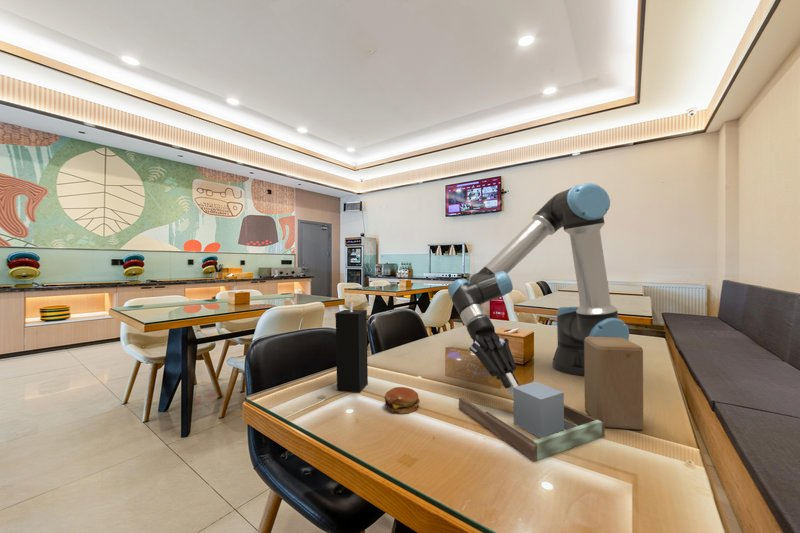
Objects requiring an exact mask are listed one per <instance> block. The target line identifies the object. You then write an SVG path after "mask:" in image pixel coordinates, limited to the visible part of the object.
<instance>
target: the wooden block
mask: <svg viewBox="0 0 800 533" xmlns="http://www.w3.org/2000/svg"><path fill="white" fill-rule="evenodd" d="M583 376H584V409H585V411H586V412H587V414H589V416H591V417H593V418H595V419H597V420H599V421H602V422H604V423H605V428H612V429H613V428H615V429H626V430H639V431H641V430H643V429H644V350H643V347H642V346H641V345H639V344H636V343H635V342H632V341H630V340H629V339H628V340H626V339H624V338H619V337H586V338H585V340H584V375H583Z"/></svg>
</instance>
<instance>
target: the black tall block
mask: <svg viewBox="0 0 800 533" xmlns="http://www.w3.org/2000/svg"><path fill="white" fill-rule="evenodd" d="M348 308H349V309H343V310H341V311H337V312H335V313H334V314H335V315H334V317H335V318H334V319H335V352H336V354H335V356H336V358H335V359H336V361H335V362H336V363H335V364H336V391H339V392H348V393H349V392H350V393H361V392H362V391H363V389H364V388H365V387H366V386H367V385H369V377H368V376H369V374H368V373H369V372H368V371H369V370H368V366H369V365H368V364H369V363H368V321H367V318H368V317H367V316H368V310H367V309H353V308H354V301H351V302H348Z"/></svg>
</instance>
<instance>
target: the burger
mask: <svg viewBox="0 0 800 533" xmlns="http://www.w3.org/2000/svg"><path fill="white" fill-rule="evenodd" d="M384 402H385V406H387V409H388V410H389V411H390V412H392V413H394V412H396V413H398V414H399V415H407V414H411V413H413V412H416V410H417V409H418V407H419V404H420V402H421V401H420V398H419V394H418V392H417V391H416V390H414V389H412V388H409V387H406V386H396V387H392V388H391V389H390V390H388V391H387V392H386V393H385V395H384Z"/></svg>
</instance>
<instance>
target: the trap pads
mask: <svg viewBox="0 0 800 533" xmlns="http://www.w3.org/2000/svg"><path fill="white" fill-rule="evenodd" d="M485 412H486V413H487V414H489V415H490V416H492V417H493V418H495V419H496V420H498V421H500V422H501V423H503V424H504V425H506V426H507V427H509V428H510V429H512V430H514V431H515V432H517V433H518V434H520V435H521V436H523V437H524V438H526V439H528V440H529V441H531V442H532V443H533V441H534V440H532V439H531V438H530V437H528V436H526V435H525V434H523V433H521V432H520V431H518V430H517V429H515V428H514V427H513V426H510V425H509V424H507V423H505V422H504V421H503V420H502V419H499V418H498V417H497V416H494V415H493V414H492V413H490V412H488V411H485ZM577 426H578V425H577V424H575V423H573V422H571V421H569V420H567V419H564V430H568V429H571V428H574V427H577Z"/></svg>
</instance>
